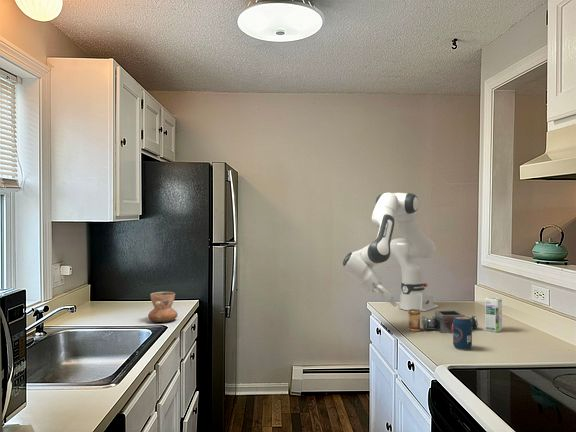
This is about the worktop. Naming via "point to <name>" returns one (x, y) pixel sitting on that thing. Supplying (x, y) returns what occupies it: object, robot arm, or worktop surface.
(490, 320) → the syrup box
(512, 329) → the worktop surface
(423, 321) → the valve body
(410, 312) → the copper flared cylinder
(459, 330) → the soda can
